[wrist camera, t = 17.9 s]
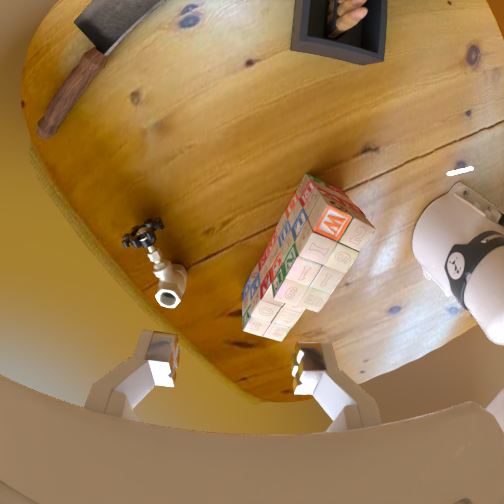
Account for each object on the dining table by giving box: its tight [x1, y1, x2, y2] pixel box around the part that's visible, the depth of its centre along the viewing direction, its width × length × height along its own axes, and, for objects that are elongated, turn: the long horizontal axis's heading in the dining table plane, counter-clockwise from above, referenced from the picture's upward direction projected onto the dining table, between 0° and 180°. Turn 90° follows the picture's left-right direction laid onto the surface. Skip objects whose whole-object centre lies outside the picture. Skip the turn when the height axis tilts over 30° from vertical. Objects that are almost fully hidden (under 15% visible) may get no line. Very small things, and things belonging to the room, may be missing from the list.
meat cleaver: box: [37, 0, 165, 139], centre depth 23 cm, size 34×11×4 cm, turn 131°
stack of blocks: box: [242, 173, 375, 341], centre depth 37 cm, size 21×6×12 cm, turn 156°
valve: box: [122, 217, 188, 308], centre depth 40 cm, size 7×7×12 cm
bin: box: [290, 0, 387, 65], centre depth 22 cm, size 10×16×7 cm, turn 175°
